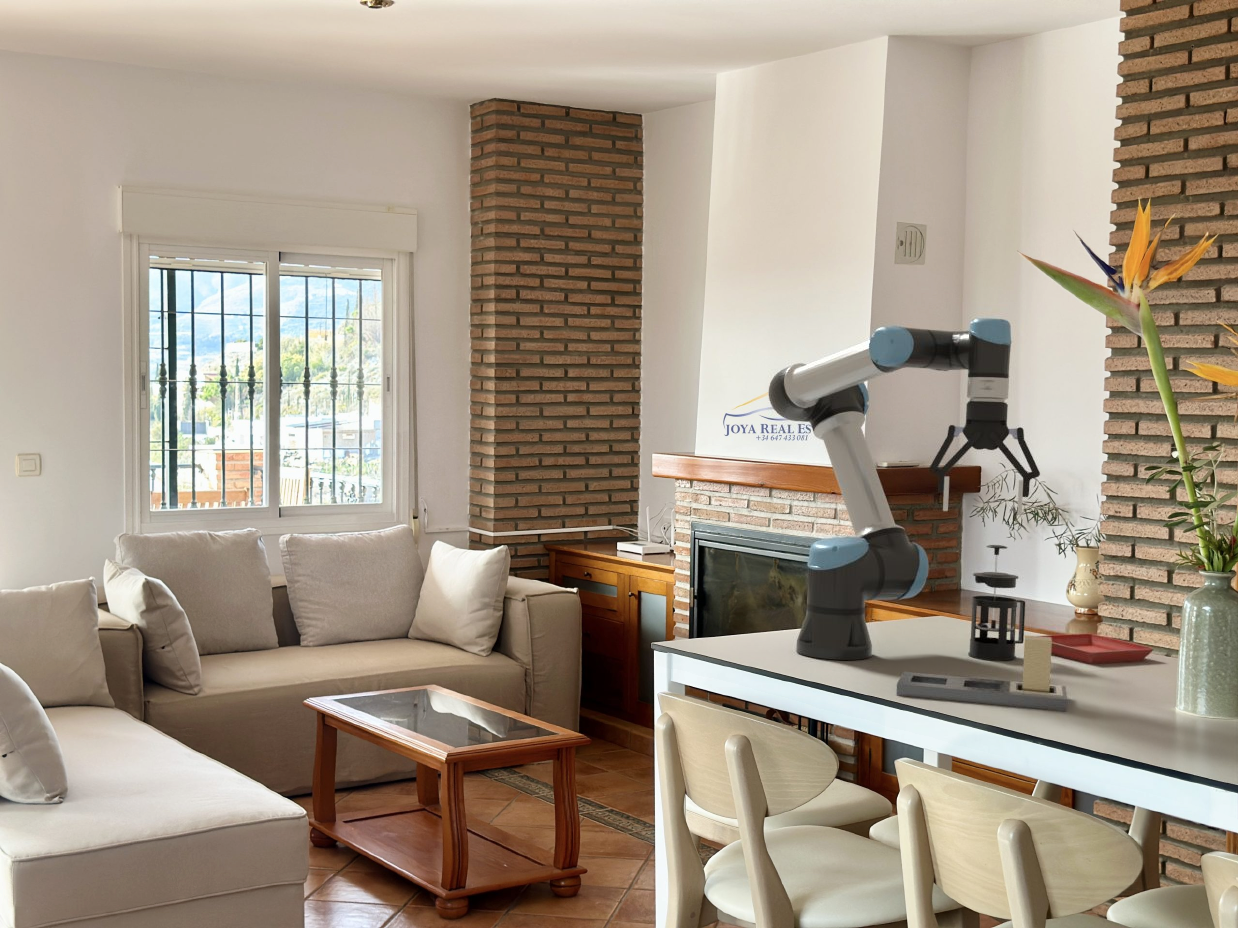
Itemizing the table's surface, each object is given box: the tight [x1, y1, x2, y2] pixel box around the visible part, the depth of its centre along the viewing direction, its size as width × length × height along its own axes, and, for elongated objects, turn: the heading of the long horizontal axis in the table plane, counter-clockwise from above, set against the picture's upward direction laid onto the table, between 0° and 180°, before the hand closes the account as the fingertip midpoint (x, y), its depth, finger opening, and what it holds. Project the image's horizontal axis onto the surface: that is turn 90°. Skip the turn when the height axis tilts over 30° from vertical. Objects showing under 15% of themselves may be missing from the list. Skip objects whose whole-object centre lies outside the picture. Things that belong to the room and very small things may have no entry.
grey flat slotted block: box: [896, 671, 1068, 712], centre depth 231 cm, size 28×12×2 cm, turn 73°
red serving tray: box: [1039, 633, 1155, 665], centre depth 278 cm, size 18×18×3 cm
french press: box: [968, 544, 1026, 662], centre depth 272 cm, size 12×9×23 cm
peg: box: [1022, 634, 1052, 693], centre depth 229 cm, size 4×4×11 cm
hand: (982, 512), depth 252 cm, fingers open, 13 cm apart
